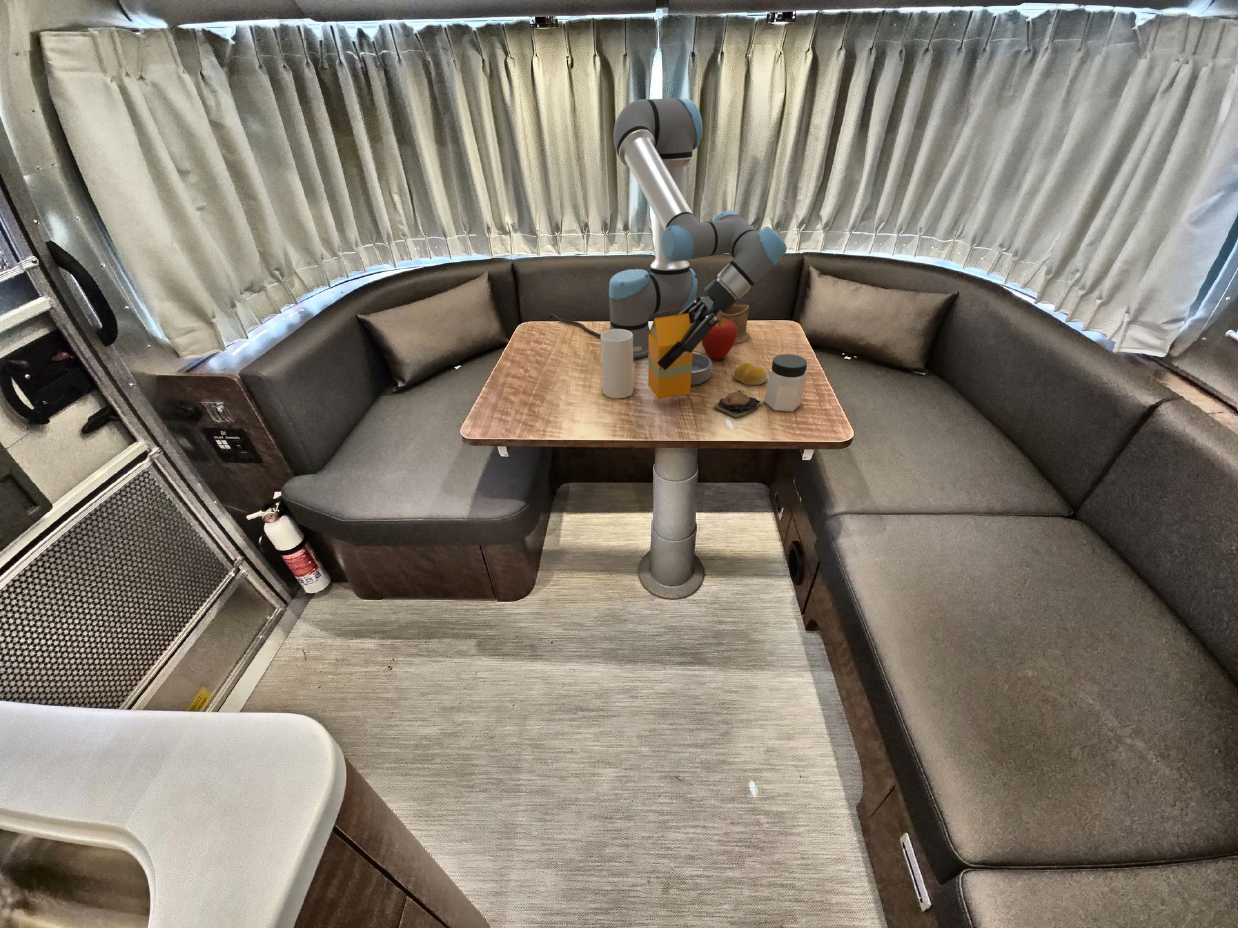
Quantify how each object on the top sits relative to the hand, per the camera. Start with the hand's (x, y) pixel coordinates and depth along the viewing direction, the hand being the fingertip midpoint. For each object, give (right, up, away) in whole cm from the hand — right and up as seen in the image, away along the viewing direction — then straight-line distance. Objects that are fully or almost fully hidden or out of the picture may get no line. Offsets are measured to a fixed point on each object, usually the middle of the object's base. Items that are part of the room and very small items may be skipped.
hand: (657, 358), depth 131 cm
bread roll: (+27, -2, +17) cm, 32 cm away
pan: (+9, -1, +20) cm, 22 cm away
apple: (+20, +6, +29) cm, 36 cm away
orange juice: (+3, -7, +6) cm, 10 cm away
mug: (+24, +16, +43) cm, 52 cm away
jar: (+32, -11, +5) cm, 35 cm away
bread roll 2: (+21, -12, +5) cm, 24 cm away
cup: (-10, -6, +13) cm, 18 cm away
